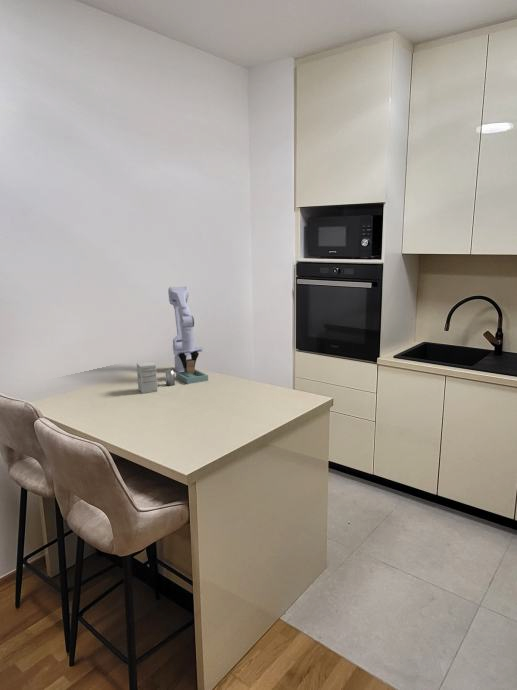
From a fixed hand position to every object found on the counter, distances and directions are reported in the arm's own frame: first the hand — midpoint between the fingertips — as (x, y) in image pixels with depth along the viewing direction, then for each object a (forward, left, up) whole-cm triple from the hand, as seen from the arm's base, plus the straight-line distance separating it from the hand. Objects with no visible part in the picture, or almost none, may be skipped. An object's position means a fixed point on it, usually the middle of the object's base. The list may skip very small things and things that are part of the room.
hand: (189, 367), depth 235 cm
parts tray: (+3, 0, -5) cm, 6 cm away
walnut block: (0, 0, -2) cm, 2 cm away
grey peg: (+6, -12, -5) cm, 15 cm away
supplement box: (+9, -24, -6) cm, 27 cm away
